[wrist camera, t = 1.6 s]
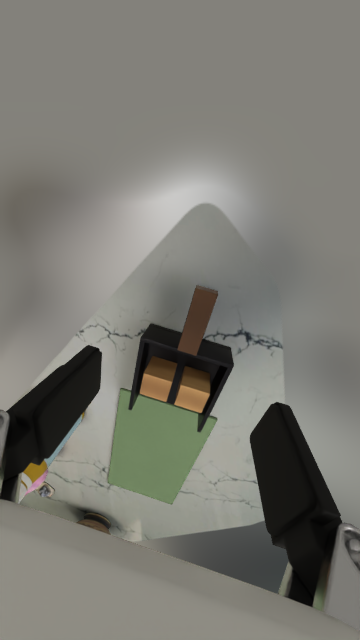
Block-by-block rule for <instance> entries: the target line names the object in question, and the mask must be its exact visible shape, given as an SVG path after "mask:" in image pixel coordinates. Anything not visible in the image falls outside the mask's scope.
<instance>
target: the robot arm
mask: <svg viewBox="0 0 360 640" xmlns="http://www.w3.org/2000/svg"><path fill="white" fill-rule="evenodd" d="M101 361H102V352H100V350H99V348H96V347H93V346H90V345H87V346H86V347H85V348H83V349H82V350H81V351H80V352H79V353H78V354H76V355H75V356H74V357H73V358H72V359H71V360H69V361H68V362H67V363H66V364H65V365H62V366H60V367H58V368H57V369H56V370H55V371H54V372H52V373H51V374H50V375H49V376H48V377H47V378H45V379H44V380H43V381H42V382H41V383H39V384H38V385H37V386H36V387H35V388H33V389H32V390H31V391H30V392H29V393H28V394H26V395H25V396H24V397H23V398H22V399H20V400H19V401H18V402H17V403H16V404H14V405H13V406H12V407H11V408H10V409H9V410H7V411H6V412H5V411H3V410H0V640H360V529H358V528H357V527H355V526H353V525H352V524H348V523H342V520H341V518H340V516H341V515H340V513H339V511H338V509H337V506H336V504H335V502H334V500H333V498H332V496H331V493H330V491H329V489H328V487H327V485H326V483H325V481H324V478H323V476H322V474H321V472H320V470H319V468H318V466H317V463H316V461H315V459H314V457H313V455H312V453H311V450H310V448H309V446H308V444H307V442H306V440H305V438H304V435H303V433H302V431H301V429H300V427H299V425H298V423H297V420H296V418H295V416H294V414H293V412H292V410H291V408H290V406H288V405H285V404H282V403H279V402H276V403H274V404H271V405H270V407H269V408H268V410H267V411H266V413H265V414H264V415H263V417H262V418H261V420H260V421H259V423H258V424H257V426H256V427H255V429H254V430H253V431H252V433H251V435H250V443H251V449H252V454H253V459H254V465H255V470H256V475H257V481H258V486H259V491H260V496H261V502H262V507H263V512H264V518H265V523H266V528H267V530H268V532H269V533H270V534H271V538H272V543H273V545H275V546H278V547H281V548H284V549H286V550H287V555H288V559H289V562H288V565H287V568H286V571H285V574H284V577H283V580H282V583H281V586H280V589H279V592H278V594H276V593H273V592H270V591H267V590H265V589H262V588H259V587H257V586H254V585H251V584H248V583H245V582H243V581H240V580H237V579H234V578H231V577H229V576H226V575H223V574H220V573H217V572H214V571H212V570H209V569H206V568H203V567H201V566H198V565H195V564H192V563H189V562H186V561H183V560H181V559H178V558H175V557H172V556H169V555H166V554H163V553H161V552H158V551H155V550H152V549H149V548H147V547H143V546H141V545H138V544H135V543H132V542H129V541H127V540H124V539H121V538H118V537H115V536H112V535H109V534H106V533H104V532H101V531H98V530H95V529H92V528H89V527H86V526H83V525H80V524H77V523H75V522H72V521H69V520H66V519H63V518H60V517H57V516H54V515H51V514H48V513H45V512H42V511H39V510H36V509H32V508H29V507H26V506H23V505H20V504H18V502H19V494H20V486H21V478H22V472H24V470H25V469H26V468H27V467H28V465H29V464H30V463H33V464H36V465H39V466H40V465H41V463H42V462H43V461H44V459H48V458H50V457H51V455H52V454H53V453H54V452H55V450H56V449H57V447H58V446H59V445H60V443H61V442H62V441H63V439H64V438H65V437H66V435H67V434H68V433H69V431H70V430H71V429H72V427H73V426H74V424H75V423H76V422H77V420H78V419H79V418H80V416H81V415H82V414H83V412H84V411H85V410H86V408H87V407H88V405H89V404H90V403H91V401H92V400H93V399H94V397H95V396H96V395H97V393H98V392H99V389H100V383H101Z"/></svg>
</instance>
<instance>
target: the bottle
mask: <svg viewBox="0 0 360 640" xmlns="http://www.w3.org/2000/svg"><path fill="white" fill-rule="evenodd" d="M83 417H84V412H83V414H82V415H81V416H80V418H79V419H78V420H77V422H76V423H75V424H74V426H73V427H72V429H71V430H70V431H69V433H68V434H67V435H66V437H65V438H64V439H63V441H62V442H61V443H60V445H59V446H58V447H57V449H56V450H55V452H54V453H53V454H52V455H51V457H50V458H48V459H44V461H43V462H42V463H41V465H40V466H39V465H36V464H33V463H30V464H29V465H28V467H27V468H26V469H25V470H24V472H22V478H21V486H20V494H19V502H20V501H21V500H22V498H23V497H24V495H25V494H26V492H27V491H28V489H29V488H30V487H31V485H32V484H33V483H34V482H35V481H36V480H37V479H38V478H39V477H41V476H42V475H43V474H44V472H45V471H46V470H47V468H48V467H49V466H50V464H51V463H52V461H53V460H54V459H55V457H56V456H57V454H58V453H59V452H60V450H61V449H62V447H63V446H64V444H65V443H66V442H67V440H68V439H69V437H70V436H71V435H72V433H73V432H74V430H75V429H76V428H77V426H78V425H79V423H80V422H81V420H82V419H83ZM19 502H18V504H19Z"/></svg>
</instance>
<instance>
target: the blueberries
mask: <svg viewBox="0 0 360 640" xmlns="http://www.w3.org/2000/svg"><path fill="white" fill-rule="evenodd" d="M35 490H36V491H38V493H39V494H40V495H41V497H45V496H47V497H51V496H52V495H53V494H54V491H55V490H54V489H53V488H51V487H50V486H49V485H48V484H47V483H45V482H42V484H41V485H40V486H39V487H37V488H36V489H35Z"/></svg>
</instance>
